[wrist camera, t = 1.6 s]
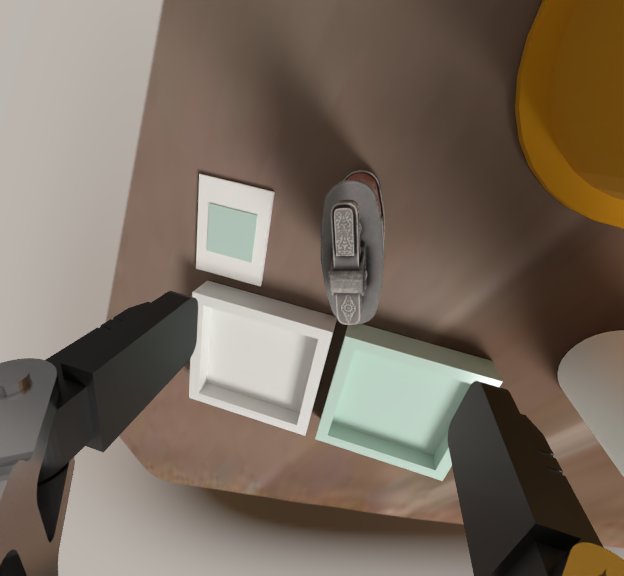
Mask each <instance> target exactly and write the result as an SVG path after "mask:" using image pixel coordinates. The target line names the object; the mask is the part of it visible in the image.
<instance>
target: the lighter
mask: <svg viewBox="0 0 624 576" xmlns="http://www.w3.org/2000/svg"><path fill="white" fill-rule="evenodd" d="M384 237H385V215H384V203H383V197H382V192H381V187H380V182H379V180H378V177H377V176H376V175H375V174H374V173H373V172H370V171H368V170H357V171H353V172H352V173H350V174H349V175H347V176H346V178H345V179H344V180H343V181H341V182H339V183H338V184H336V185H335V186H333V187H332V188H331V189H330V190H329V192H328V193H327V194H326V197H325V200H324V207H323V216H322V224H321V264H322V270H323V277H324V284H325V289H326V292H327V296H328V299H329V303H330V306H331V310H332V312H333V314H334V316H336V317H337V319H338V321H339V322H340V323H342V324H345V325H355V324H363V323H365V322H368V321H369V320H371V319H372V318H373V317H374V315H375V313H376V311H377V307H378V302H379V297H380V293H381V288H382V278H383V266H384V243H385V241H384Z"/></svg>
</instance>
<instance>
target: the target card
mask: <svg viewBox="0 0 624 576" xmlns="http://www.w3.org/2000/svg"><path fill="white" fill-rule="evenodd" d="M274 193H275V192H274V191H270V190H266V189H262V188H258V187H253V186H249V185H245V184H241V183H237V182H233V181H229V180H225V179H221V178H217V177H213V176H209V175H204V174H199V197H198V225H197V253H196V269H199V270H203V271H207V272H210V273H214V274H217V275H221V276H224V277H228V278H231V279H235V280H239V281H242V282H246V283H249V284H253V285H256V286H260V287H261V285H262V279H263V272H264V265H265V258H266V251H267V244H268V236H269V229H270V222H271V215H272V208H273V200H274Z"/></svg>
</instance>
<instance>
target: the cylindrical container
mask: <svg viewBox="0 0 624 576" xmlns="http://www.w3.org/2000/svg"><path fill="white" fill-rule="evenodd" d="M557 375H558V382H559V385H560V387H561V388H562V390H563V391H564V393H565V394H566V396H567V397H568V399H569V400H570V401H571V403H572V404H573V406H574V407H575V408H576V410H577V411H578V413H579V414H580V416H581V417H582V418H583V420H584V421H585V423H586V424H587V426H588V427H589V428H590V430H591V431H592V433H593V434H594V436H595V437H596V438H597V440H598V441H599V443H600V444H601V446H602V447H603V448H604V450H605V451H606V453H607V454H608V456H609V457H610V458H611V460H612V461H613V463H614V464H615V465H616V467H617V468H618V470H619V471H620V473H621V474H622V475H623V477H624V330H618V331H610V332H605V333H601V334H597V335H594V336H592V337H590V338H587V339H585V340H583V341H582V342H580V343H578V344H577V345H575V346H574V347H573V348H572V349H571V350H569V351H568V352H567V354H566V355H565V356H564V357H563V359H562V361H561V363H560V365H559V368H558V372H557Z"/></svg>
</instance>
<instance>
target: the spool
mask: <svg viewBox="0 0 624 576" xmlns="http://www.w3.org/2000/svg"><path fill="white" fill-rule="evenodd" d="M515 116H516V123H517V131H518V138H519V142H520V145H521V148H522V150H523V153H524V155H525V158H526V161H527V163H528V166H529V168H530V169H531V171H532V172H533V173H534V175H535V176H536V178H537V179H538V181H539V182H540V183H541V185H542V186H543V188H544V189H545V190H546V191H547V192H549V193H550V194H551V195H552V196H553V197H555V198H556V199H557V200H558V201H559V202H560V203H562V204H563V205H564V206H565V207H567V208H569V209H571V210H573V211H575V212H577V213H579V214H581V215H583V216H585V217H587V218H589V219H592V220H594V221H598V222H602V223H605V224H609V225H613V226H617V227H620V228H624V0H543V1H542V3H541V5H540V8H539V10H538V12H537V15H536V17H535V19H534V22H533V24H532V26H531V29H530V31H529V33H528V36H527V38H526V42H525V46H524V50H523V54H522V58H521V62H520V66H519V70H518V74H517V84H516V98H515Z"/></svg>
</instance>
